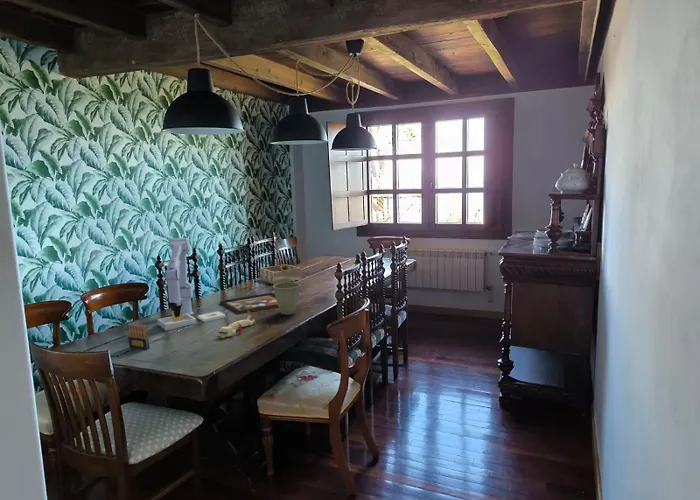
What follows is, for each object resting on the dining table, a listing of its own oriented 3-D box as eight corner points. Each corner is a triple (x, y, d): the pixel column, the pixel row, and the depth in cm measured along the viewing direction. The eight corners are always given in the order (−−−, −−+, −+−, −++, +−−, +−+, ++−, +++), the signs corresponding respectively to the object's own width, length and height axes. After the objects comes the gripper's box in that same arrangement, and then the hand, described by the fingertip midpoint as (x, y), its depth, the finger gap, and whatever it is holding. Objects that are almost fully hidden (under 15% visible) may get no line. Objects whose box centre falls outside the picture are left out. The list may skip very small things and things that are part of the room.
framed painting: (241, 317, 267) (240, 312, 267) (214, 306, 294) (214, 301, 294) (298, 304, 291) (297, 299, 291) (268, 295, 318) (268, 291, 318)
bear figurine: (271, 279, 362) (270, 264, 360) (291, 278, 364) (290, 262, 362) (271, 283, 349) (270, 267, 347) (291, 282, 351) (291, 266, 349)
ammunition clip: (129, 347, 224) (126, 322, 222) (132, 346, 225) (129, 321, 223) (146, 349, 219) (143, 324, 217) (149, 348, 221) (146, 323, 219)
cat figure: (243, 325, 255) (212, 337, 232) (242, 309, 254) (212, 319, 231) (259, 327, 251) (229, 339, 228) (258, 311, 250) (229, 321, 227)
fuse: (172, 320, 257) (171, 310, 256) (181, 319, 259) (180, 308, 258) (174, 322, 254) (173, 311, 253) (182, 320, 257) (181, 310, 256)
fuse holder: (197, 318, 265) (197, 315, 265) (218, 314, 273) (218, 311, 272) (204, 322, 258) (204, 319, 257) (225, 318, 265) (225, 314, 264)
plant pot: (276, 317, 262) (275, 289, 259) (273, 310, 276) (271, 283, 273) (303, 314, 266) (302, 286, 263) (298, 308, 280) (297, 281, 278)
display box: (260, 279, 362) (259, 268, 361) (286, 275, 375) (285, 264, 374) (274, 284, 344) (274, 272, 343) (301, 279, 357) (300, 268, 355)
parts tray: (158, 324, 258) (157, 319, 257) (187, 318, 267) (187, 313, 267) (165, 330, 247) (165, 325, 246) (196, 324, 256) (195, 318, 256)
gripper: (185, 292, 251) (188, 317, 253) (177, 287, 262) (179, 311, 264) (172, 294, 246) (174, 320, 249) (164, 290, 258) (166, 314, 260)
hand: (176, 316), depth 256 cm, fingers closed on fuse, 3 cm apart
